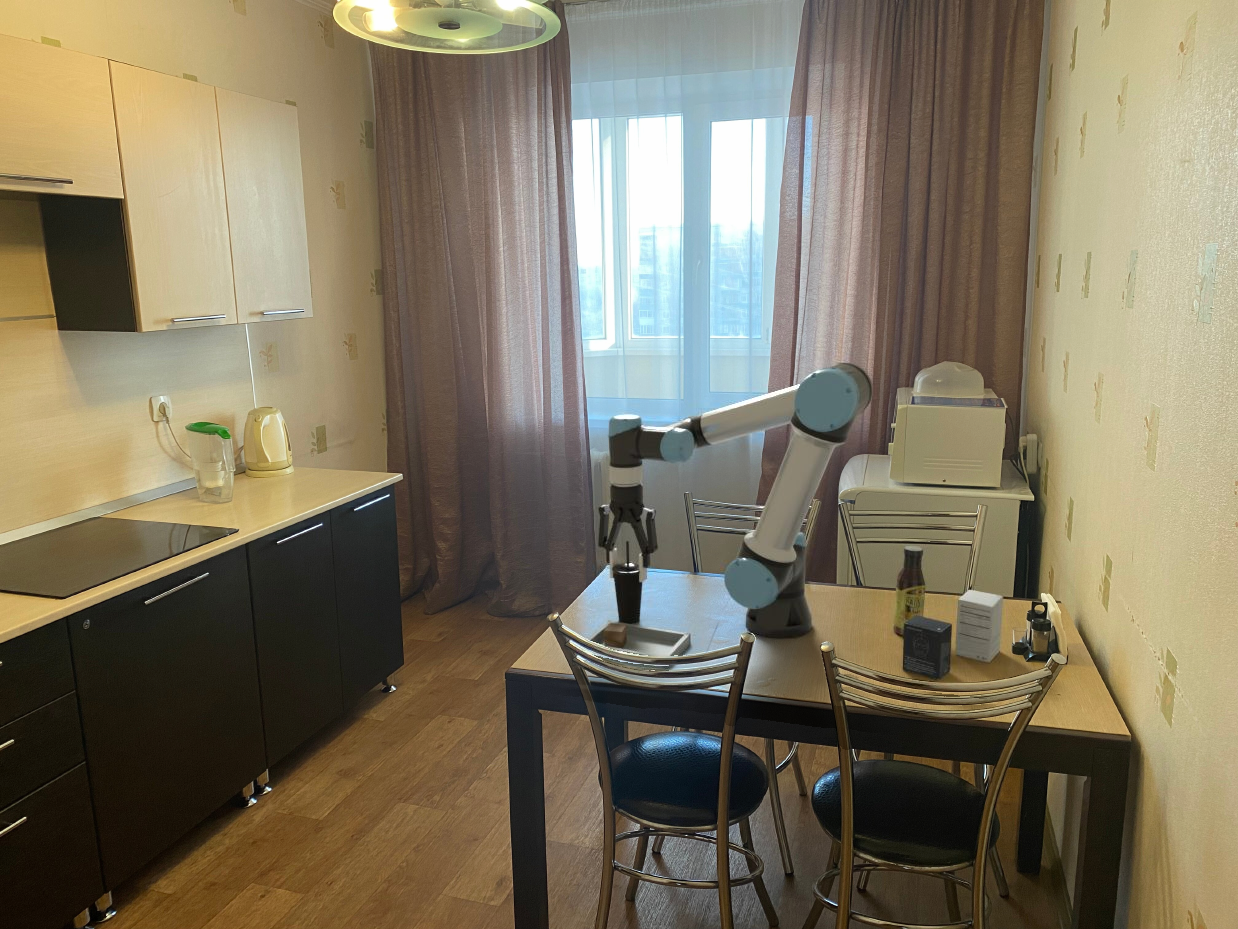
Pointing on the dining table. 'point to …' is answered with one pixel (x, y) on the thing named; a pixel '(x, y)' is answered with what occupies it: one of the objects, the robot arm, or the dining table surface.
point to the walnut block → (615, 635)
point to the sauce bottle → (909, 589)
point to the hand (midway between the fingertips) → (628, 578)
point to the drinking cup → (628, 590)
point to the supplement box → (979, 625)
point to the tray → (648, 640)
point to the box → (927, 647)
